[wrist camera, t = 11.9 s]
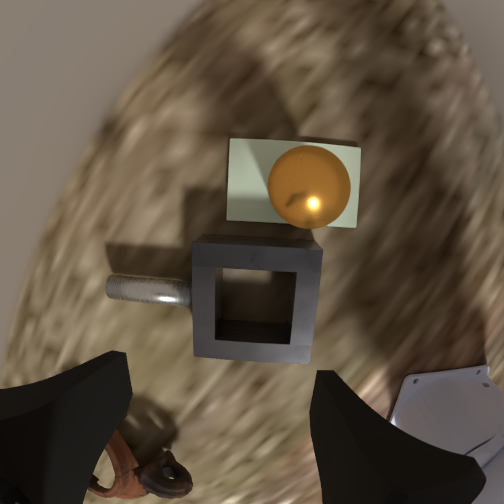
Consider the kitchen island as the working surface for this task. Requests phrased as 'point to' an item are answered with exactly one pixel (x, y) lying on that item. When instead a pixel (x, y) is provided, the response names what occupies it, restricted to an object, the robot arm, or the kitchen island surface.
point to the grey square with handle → (210, 297)
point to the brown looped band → (142, 474)
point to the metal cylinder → (309, 186)
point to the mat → (257, 173)
